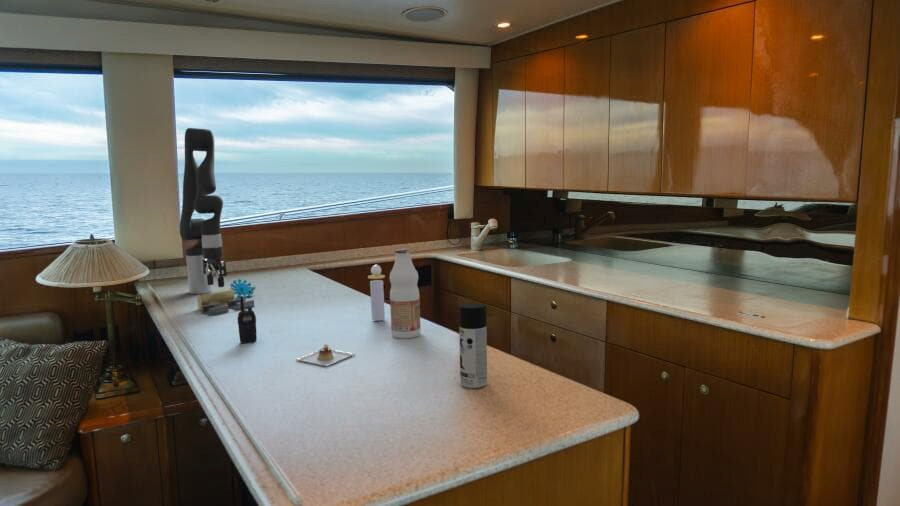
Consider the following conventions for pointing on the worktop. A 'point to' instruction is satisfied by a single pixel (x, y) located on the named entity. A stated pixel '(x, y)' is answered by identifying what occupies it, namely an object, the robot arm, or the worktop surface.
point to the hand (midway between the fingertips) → (216, 285)
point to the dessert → (325, 355)
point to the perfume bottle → (377, 294)
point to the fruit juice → (404, 297)
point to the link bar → (215, 298)
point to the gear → (242, 288)
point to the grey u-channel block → (226, 306)
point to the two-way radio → (246, 324)
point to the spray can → (473, 345)
